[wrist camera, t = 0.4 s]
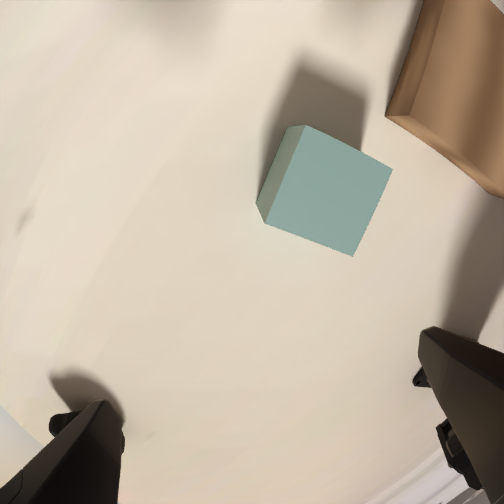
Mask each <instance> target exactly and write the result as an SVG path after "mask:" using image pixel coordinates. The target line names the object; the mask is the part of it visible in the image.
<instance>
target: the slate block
mask: <svg viewBox="0 0 504 504" xmlns="http://www.w3.org/2000/svg"><path fill="white" fill-rule="evenodd" d="M392 170H393V169H391V168H390V167H388V166H386V165H384V164H383V163H381V162H379V161H377V160H375V159H374V158H372V157H370V156H368V155H366V154H364V153H363V152H361V151H359V150H357V149H355V148H353V147H351V146H349V145H347V144H345V143H343V142H341V141H339V140H337V139H335V138H333V137H331V136H329V135H327V134H325V133H323V132H321V131H319V130H316V129H314V128H312V127H310V126H308V125H299V126H290V127H287V129H286V131H285V134H284V136H283V138H282V141H281V143H280V146H279V148H278V151H277V153H276V155H275V158H274V160H273V163H272V165H271V167H270V170H269V172H268V175H267V177H266V180H265V182H264V184H263V187H262V189H261V192H260V194H259V197H258V199H257V202H256V205H257V207H258V209H259V212H260V214H261V216H262V219H263V221H264V223H265V224H268V225H270V226H273V227H276V228H279V229H281V230H284V231H287V232H289V233H292V234H295V235H297V236H300V237H303V238H305V239H308V240H311V241H313V242H316V243H319V244H321V245H324V246H326V247H329V248H332V249H334V250H337V251H340V252H342V253H345V254H347V255H350V256H352V257H353V255H354V253H355V251H356V249H357V247H358V245H359V243H360V241H361V239H362V237H363V235H364V233H365V230H366V228H367V226H368V224H369V222H370V220H371V218H372V216H373V213H374V211H375V209H376V207H377V205H378V202H379V200H380V198H381V196H382V193H383V191H384V189H385V187H386V184H387V182H388V180H389V177H390V175H391V172H392Z"/></svg>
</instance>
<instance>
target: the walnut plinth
mask: <svg viewBox="0 0 504 504" xmlns="http://www.w3.org/2000/svg"><path fill="white" fill-rule="evenodd" d="M385 117H386V118H388V119H390V120H391V121H393V122H395V123H396V124H398V125H399V126H401V127H402V128H404V129H405V130H407V131H409V132H410V133H412V134H413V135H415V136H416V137H418V138H419V139H420V140H422V141H423V142H425V143H426V144H428V145H429V146H430V147H432V148H433V149H435V150H436V151H437V152H439V153H440V154H441V155H443V156H444V157H445V158H447V159H448V160H449V161H451V162H452V163H453V164H455V165H456V166H457V167H458V168H460V169H461V170H462V171H463V172H465V173H466V174H467V175H468V176H470V177H471V178H472V179H473V180H474V181H476V182H477V183H478V184H479V185H480V186H481V187H483V188H484V189H485V190H486V191H487V192H488V193H490V194H492V195H495V196H498V197H501V198H503V199H504V14H503V13H502V12H501V11H500V10H499V9H498V8H497V7H496V6H495V5H494V4H493V3H492V2H491V1H490V0H424V2H423V6H422V9H421V13H420V16H419V19H418V23H417V26H416V29H415V32H414V35H413V39H412V42H411V45H410V48H409V51H408V54H407V57H406V60H405V63H404V65H403V68H402V71H401V74H400V77H399V80H398V82H397V85H396V88H395V91H394V93H393V96H392V99H391V101H390V104H389V107H388V109H387V112H386V115H385Z"/></svg>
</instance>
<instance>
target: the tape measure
mask: <svg viewBox="0 0 504 504" xmlns="http://www.w3.org/2000/svg"><path fill="white" fill-rule="evenodd" d="M80 413H81V412H70V413H65V414H56V415H54V416H53V417H51V419H50V422H49V431H50V433H51V434H52V435H53V436H54V437H56V436H57V435H58V434H59V433H60V432H61V431H62V430H63V429H64V428H65V427H66V426H67V425H68V424H69V423H70V422H72V421H73V420H74V419H75V418H76V417H77V416H78V415H79V414H80ZM124 446H125V437H124V436H123V432H122V435H121V455H122V453H123V452H124Z"/></svg>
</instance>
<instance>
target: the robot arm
mask: <svg viewBox="0 0 504 504" xmlns="http://www.w3.org/2000/svg"><path fill="white" fill-rule="evenodd" d="M418 357H419V360H420V363H421V365H422V367H423V368H422V369H421V371H420V372H419V373H418V375H417V376H416V377H415V379H414V380H413V382H412V383H413V384H414V386H418V387H429V388H432V389H433V392H434V394H435V396H436V398H437V400H438V402H439V404H440V406H441V408H442V410H443V411H444V413H445V415H446V417H447V419H446V420H445V421H444V422H442V423H441V424H439V425H438V426H437V427H436V430H437V433H438V437H439V440H440V443H441V446H442V448H443V451H444V454H445V457H446V459H447V462H448V466H449V467H450V468H454V469H455V470H456V471H457V472H458V473H460V474H462V475H464V477H465V480H466V482H467V484H468V486H469V487H471V488H473V489H475V490H480V489H484V490H485V492H486V494H487V496H488V499H489V501H490V503H491V504H504V353H502V352H499V351H497V350H494V349H491V348H489V347H486V346H484V345H481V344H479V342H478V341H476V340H472V339H469V338H465V337H462V336H458V335H456V334H453V333H451V332H448V331H446V330H443V329H441V328H438V327H435V326H432V327H429V328H427V329H424V330H422V331H421V333H420V339H419V348H418ZM121 435H122V421H121V418H120V416H119V415H118V413H117V412H116V411H115V409H114V408H113V407H112V405H111V404H110V402H109V401H107V400H105V399H100V400H94V401H92V402H91V403H90V404H89V405H88V406H87V407H86V408H85V409H84V410H83V411H82V412H81V413H80V414H79V415H78V416H77V417H76V418H75V419H74V420H73V421H72V422H70V423H69V424H68V425H67V426H66V427H65V428H64V429H63V430H62V431H61V432H60V433H59V434H58V435H57V436H56V437H55V438H54V439H53V440H52V441H51V442H50V443H49V444H47V445H46V446H45V447H44V448H43V449H42V450H41V451H40V452H39V453H38V454H37V455H36V456H35V457H34V458H33V459H32V460H31V461H30V462H29V463H28V464H27V465H26V466H25V467H23V469H21V470H20V471H19V472H18V473H17V474H16V475H15V476H14V477H13V478H12V479H11V480H10V481H9V482H7V483H6V484H5V485H4V486H3V487H2V488H0V504H117V502H118V490H119V480H120V470H121Z"/></svg>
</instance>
